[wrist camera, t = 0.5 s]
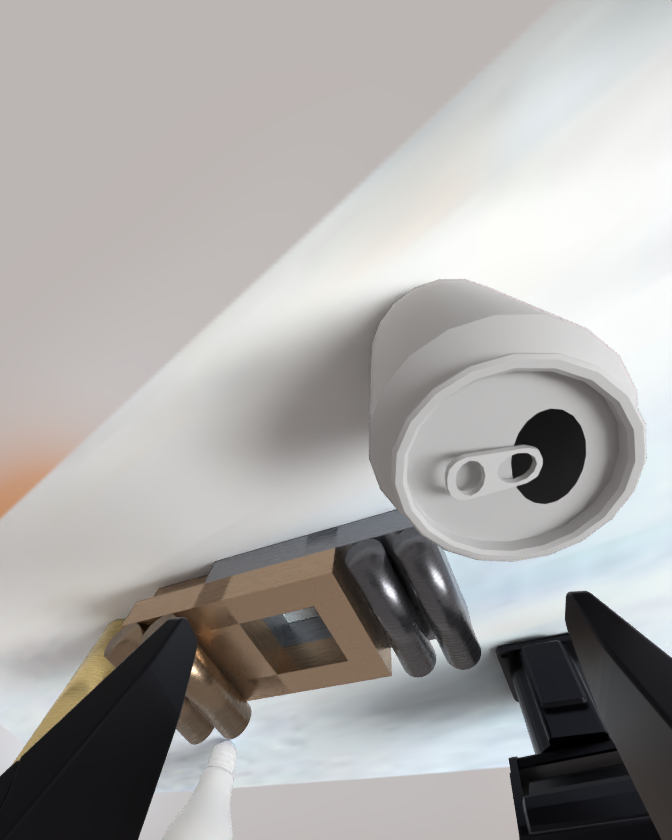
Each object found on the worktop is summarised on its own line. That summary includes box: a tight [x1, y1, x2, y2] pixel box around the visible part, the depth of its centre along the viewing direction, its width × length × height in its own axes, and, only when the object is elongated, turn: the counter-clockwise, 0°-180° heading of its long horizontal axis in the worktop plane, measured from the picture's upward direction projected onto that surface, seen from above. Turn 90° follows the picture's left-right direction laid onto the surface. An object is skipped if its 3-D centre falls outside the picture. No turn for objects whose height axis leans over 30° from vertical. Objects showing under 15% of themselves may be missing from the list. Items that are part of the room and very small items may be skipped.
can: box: [369, 279, 647, 562], centre depth 15 cm, size 8×8×12 cm
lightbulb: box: [162, 741, 237, 840], centre depth 34 cm, size 6×6×11 cm
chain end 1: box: [104, 548, 392, 745], centre depth 27 cm, size 10×16×6 cm, turn 114°
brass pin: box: [12, 620, 125, 765], centre depth 29 cm, size 4×4×10 cm
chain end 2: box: [205, 510, 481, 677], centre depth 26 cm, size 10×16×4 cm, turn 114°
